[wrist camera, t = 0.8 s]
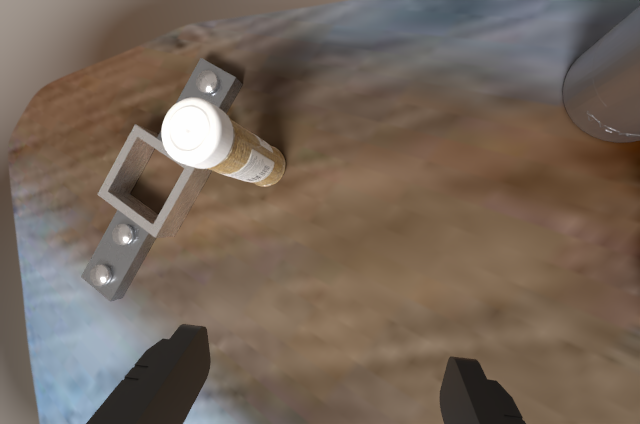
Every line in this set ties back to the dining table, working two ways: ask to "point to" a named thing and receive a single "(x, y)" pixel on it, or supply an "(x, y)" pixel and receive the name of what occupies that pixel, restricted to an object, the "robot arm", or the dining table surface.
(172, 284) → the dining table surface
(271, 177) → the sprinkles bottle
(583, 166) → the dining table surface
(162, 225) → the link socket
